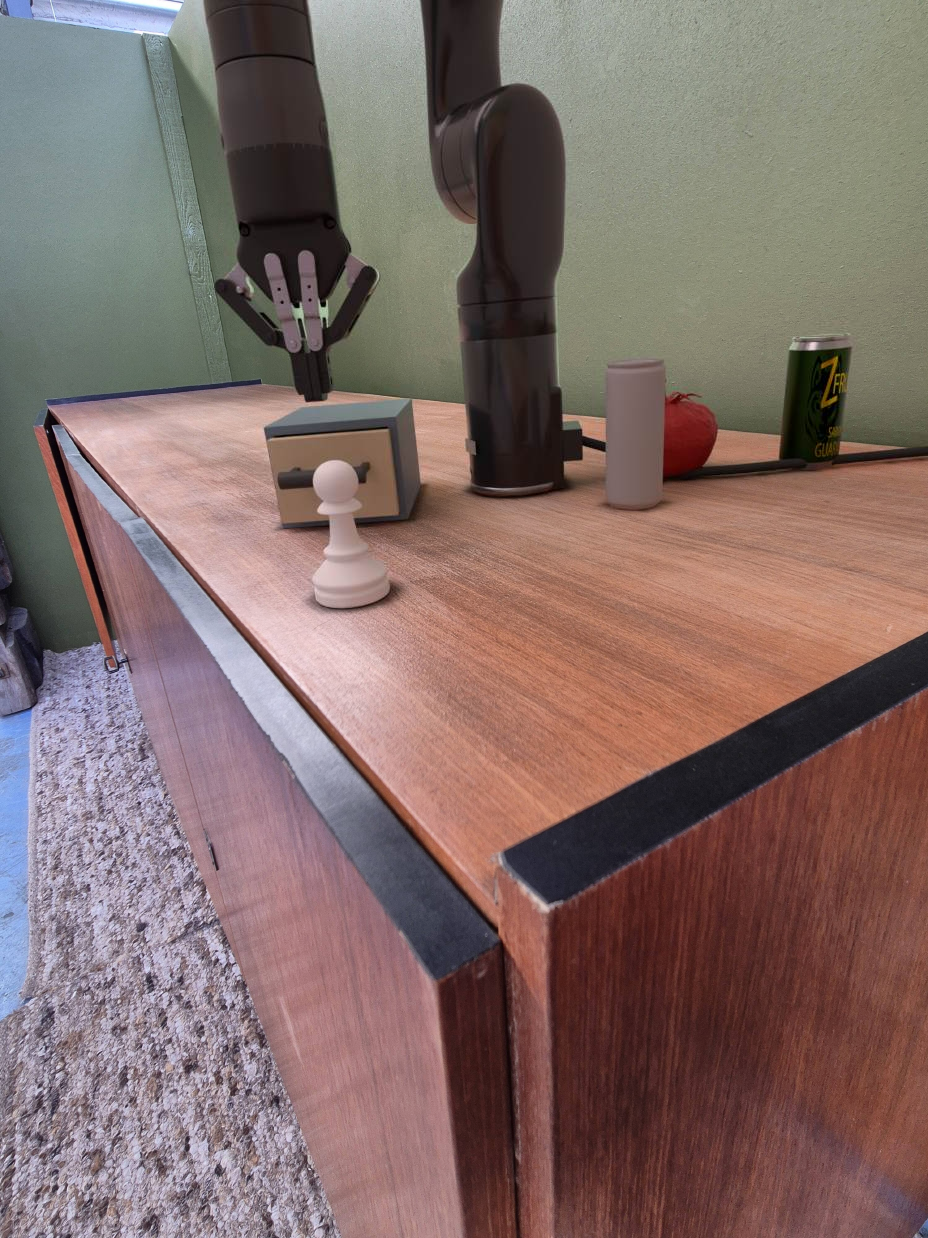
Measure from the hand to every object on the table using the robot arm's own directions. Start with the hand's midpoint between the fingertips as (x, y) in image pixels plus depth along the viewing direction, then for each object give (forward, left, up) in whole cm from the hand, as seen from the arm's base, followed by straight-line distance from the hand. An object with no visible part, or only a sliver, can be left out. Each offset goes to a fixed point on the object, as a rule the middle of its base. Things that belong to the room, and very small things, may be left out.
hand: (316, 400), depth 58 cm
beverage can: (-26, -3, -11) cm, 29 cm away
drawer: (0, -5, -10) cm, 12 cm away
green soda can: (-45, -13, -11) cm, 48 cm away
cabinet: (0, -10, -11) cm, 15 cm away
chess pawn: (-4, +15, -11) cm, 20 cm away
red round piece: (-31, -14, -11) cm, 36 cm away
